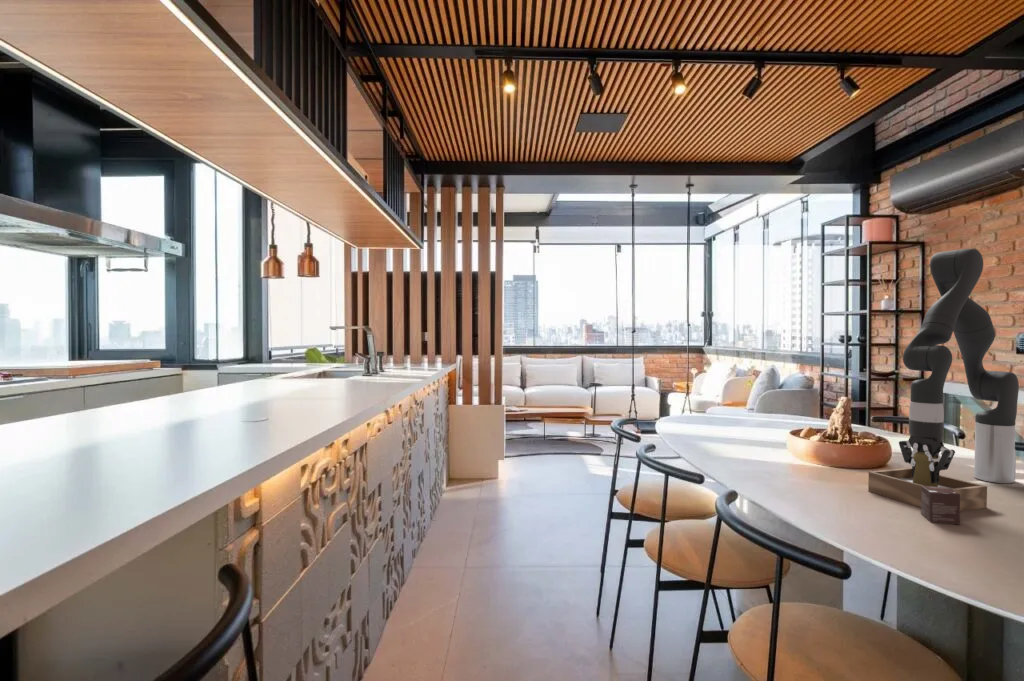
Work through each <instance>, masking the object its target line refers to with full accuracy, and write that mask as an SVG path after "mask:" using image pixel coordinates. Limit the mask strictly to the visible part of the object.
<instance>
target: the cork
mask: <svg viewBox="0 0 1024 681" xmlns="http://www.w3.org/2000/svg"><path fill="white" fill-rule="evenodd" d="M913 458H914V461H915V462H916V466H915V471H914V477H913V483H916V484H920V485H924V486H933V487H938V485H937V483H932V484H931V476H930V471H931V470H930V468H929V465H930V464H931V462H929V459H928V458H929V457H928V456H927V455H926V454H925V453H924V452H916V453H915V454H914V456H913ZM932 459H937V456H932ZM934 464H936V462H934Z"/></svg>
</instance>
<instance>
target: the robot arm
mask: <svg viewBox="0 0 1024 681" xmlns="http://www.w3.org/2000/svg"><path fill="white" fill-rule="evenodd" d="M929 269H930V273H931V277H932V279H933V282H934V283H935V286H936V288H937V290H938V292H939V295H940V297H939V299H938V300H936V301H935V302H934V303H933V304H932V305H931V306H930V307H929V308H928V309H927V312H926V313H925V315H924V318H923V320H922V324H921V327H920V329H919V331H918V332H917V333H916V335H915V336H914V338H912V340H911V341H910V342H909V344H907V346H906V347H905V349H904V351H903V354H902V362H903V364H904V366H905V367H906V369H908V370H911V371H919V372H931V374H929V376H928V378H921V379H915V380H913V381H912V382H911V384H910V401H909V402H910V404H909V408H908V434H909V435H910V436H909V438H908V440H899V441H898V445H899V448H900V452H901V455H902V458H903V460H904V463H906V464H907V463H908V464H909V465H910V466H911V468H912V477H914V471H915V466H916V462H915V461H914V458H913V456H914V454H915V453H916V452H924V453H925V454H926V455H927V456H928V457H929V458H928V459H929V462H931V464H930V465H929V468H930V470H931V471H930V476H931V484H932V483H939V475H940V473H941V472H940V471H945V470H948V469H949V467H950V465H951V463H952V461H953V459H954V457H955V454H956V451H955V450H954V449H950V448H948V447H945V444H944V442H943V438H944V437H945V436H944V434H945V432H944V428H945V427H944V426H945V410H944V387H945V383H946V379H947V377H948V374H949V371H950V368H951V367H952V363H953V354H952V351H951V350H950V349H949V347H947V346H945V345H943V344H947V343H948V342H949V341H951V338H952V335H953V334H954V338H955V340H956V344H957V346H958V349H959V351H960V355H961V359H962V361H963V367H964V370H965V376H966V380H967V381H966V382H967V386H968V390H969V392H970V395H972V397H973V398H975V399H977V400H981V401H989V402H997V405H996V407H994V408H993V409H990V410H985V411H984V410H983V411H980V412H977V413H976V414H975V418H974V419H975V420H974V422H975V423H974V465H973V466H974V467H973V468H974V469H973V473H974V474H973V475H974V476H973V477H974V478H976V479H978V480H980V481H985V482H990V483H997V484H998V483H999V484H1013V483H1015V482H1016V477H1017V476H1016V475H1017V474H1016V470H1017V469H1016V467H1017V450H1016V419H1017V413H1018V400H1019V390H1020V386H1019V383H1020V382H1019V378H1018V377H1017V375H1016V374H1015V373H1014V372H1011V371H1002V370H1001V371H998V370H997V371H996V370H986V369H985V368H984V365H983V364H984V362H983V359H984V357H985V356H986V354H987V352H988V351H989V349H990V348H991V346H992V344H993V342H994V340H995V337H996V331H995V327H994V325H993V321H992V318H991V315H990V313H989V312H988V311H987V310H986V309H985V308H984V307H983V306H981V305H980V304H978V303H977V302H976V301H975V300H973V299H972V298H970V295H971V294H972V292H973V290H974V288H975V287H976V285H977V283H978V282H979V280H980V279H981V276H982V272H983V269H984V258H983V255H982V253H981V251H980V250H978V249H977V248H962V249H954V250H946V251H940V252H936V253H935V254H933V255H932V256H931V259H930V262H929ZM940 455H941V456H940ZM932 456H937V459H932ZM934 462H936V464H934Z"/></svg>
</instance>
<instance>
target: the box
mask: <svg viewBox="0 0 1024 681" xmlns="http://www.w3.org/2000/svg"><path fill="white" fill-rule="evenodd" d="M920 515H921V516H922V517H924V518H925V519H926V520H927V521H928V522H929V523H942V524H953V525H960V524H961V511H960V494H959V493H957V492H956V491H954V490H952V489H951V488H947V487H933V486H922V489H921V507H920Z"/></svg>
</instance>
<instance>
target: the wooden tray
mask: <svg viewBox="0 0 1024 681" xmlns="http://www.w3.org/2000/svg"><path fill="white" fill-rule="evenodd" d="M937 485H938V487H947V488H951V489H952V490H954V491H956V492H957V493H959V494H960V512H963V511H970V510H971V511H972V510H979V509H987V507H988V506H987V505H988V485H983V484H979V483H974V482H970V481H967V480H963V479H960V478H959V479H958V478H954V477H950V476H945V475H942V474H939V483H937ZM922 486H924V485H920V484H916V483H913V477H912V467H905V468H894V469H883V470H875V471H874V470H873V471H872V470H871V471H868V487H867V488H868V492H869V493H874V494H876V495H879V496H883V497H887V498H890V499H893V500H897V501H900V502H903V503H906V504H909V505H912V506H915V507H920V508H921V489H922Z"/></svg>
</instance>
